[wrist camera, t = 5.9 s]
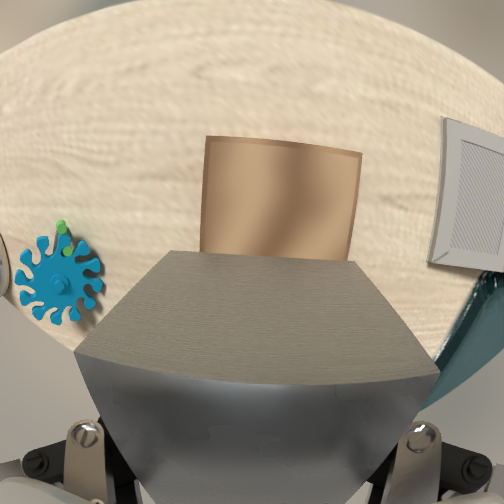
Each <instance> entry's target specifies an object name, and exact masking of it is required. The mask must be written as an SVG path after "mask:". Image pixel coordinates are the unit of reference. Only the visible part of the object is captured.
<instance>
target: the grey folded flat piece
mask: <svg viewBox="0 0 504 504" xmlns="http://www.w3.org/2000/svg"><path fill="white" fill-rule="evenodd" d="M426 262H431V263H436V264H444V265H452V266H459V267H467V268H475V269H482V270H489V271H497V272H504V138H502V137H500V136H497V135H495V134H492V133H490V132H487V131H485V130H482V129H479V128H477V127H474V126H471V125H468V124H465V123H462V122H459V121H456V120H453V119H450V118H446V117H442V116H441V155H440V172H439V184H438V194H437V202H436V210H435V217H434V223H433V230H432V235H431V241H430V246H429V251H428V256H427V260H426Z"/></svg>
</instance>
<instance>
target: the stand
mask: <svg viewBox="0 0 504 504" xmlns="http://www.w3.org/2000/svg"><path fill="white" fill-rule="evenodd" d="M361 163H362V153H359V152H354V151H349V150H343V149H338V148H332V147H325V146H319V145H312V144H305V143H297V142H288V141H279V140H269V139H258V138H245V137H228V136H206V144H205V156H204V170H203V186H202V204H201V225H200V252H205V253H221V254H237V255H253V256H270V257H286V258H303V259H320V260H337V261H347V258H348V253H349V248H350V242H351V236H352V230H353V224H354V218H355V211H356V204H357V197H358V189H359V181H360V172H361Z"/></svg>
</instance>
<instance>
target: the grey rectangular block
mask: <svg viewBox="0 0 504 504" xmlns="http://www.w3.org/2000/svg"><path fill="white" fill-rule="evenodd" d="M73 352H74V354H75V357H76V360H77V363H78V365H79V368H80V371H81V373H82V376H83V378H84V381H85V383H86V385H87V388H88V390H89V392H90V395H91V397H92V399H93V401H94V403H95V405H96V408H97V409H98V412H99V414H100V416H101V418H102V420H103V422H104V424H105V426H106V428H107V429H108V431H109V433H110V435H111V437H112V439H113V440H114V442H115V444H116V446H117V447H118V449H119V451H120V452H121V454H122V456H123V457H124V459H125V460H126V462H127V464H128V465H129V467H130V468H131V470H132V471H133V473H134V474H135V476H136V477H137V479H138V480H139V482H140V483H141V484H142V486H143V487H144V488H145V490H146V491H147V493H148V494H149V495H150V497H151V498H152V499H153V500H154V502H155V503H156V504H345V502H347V501H348V500H349V498H351V497H352V496H353V495H354V494H355V492H356V491H357V490H358V489H359V488H360V487H361V486H362V485H363V484H364V483H365V482H366V481H367V480H368V479H369V477H370V476H371V475H372V474H373V473H374V472H375V470H376V469H377V468H378V467H379V466H380V465H381V463H382V462H383V461H384V460H385V458H386V457H387V456H388V455H389V453H390V452H391V451H392V449H393V448H394V447H395V445H396V444H397V443H398V441H399V440H400V439H401V437H402V436H403V434H404V433H405V432H406V430H407V429H408V427H409V426H410V424H411V423H412V421H413V420H414V418H415V417H416V415H417V413H418V412H419V410H420V409H421V407H422V405H423V404H424V402H425V400H426V399H427V397H428V395H429V393H430V392H431V390H432V388H433V386H434V384H435V383H436V381H437V379H438V377H439V375H440V373H441V372H440V371H439V369H438V368H437V366H436V365H435V363H434V362H433V361H432V359H431V358H430V356H429V355H428V354H427V352H426V351H425V349H424V348H423V347H422V345H421V344H420V343H419V341H418V340H417V338H416V337H415V336H414V334H413V333H412V332H411V330H410V329H409V328H408V327H407V325H406V324H405V323H404V321H403V320H402V319H401V317H400V316H399V315H398V314H397V312H396V311H395V310H394V309H393V307H392V306H391V305H390V304H389V302H388V301H387V300H386V299H385V297H384V296H383V295H382V294H381V292H380V291H379V290H378V289H377V288H376V286H375V285H374V284H373V283H372V281H371V280H370V279H369V278H368V277H367V276H366V274H365V273H364V272H363V271H362V270H361V268H360V267H359V266H358V265H357V264H356V263H355V262H354V261H337V260H320V259H303V258H286V257H270V256H253V255H237V254H221V253H205V252H189V251H173V250H171V251H169V252H168V253H167V254H166V255H165V256H164V257H163V258H162V259H161V260H160V261H159V262H158V263H157V264H156V265H155V266H154V267H153V268H152V269H151V270H150V271H149V272H148V273H147V274H146V275H145V276H144V277H143V278H142V279H141V280H140V281H139V282H138V283H137V284H136V285H135V286H134V287H133V288H132V289H131V290H130V291H129V292H128V293H127V294H126V295H125V296H124V297H123V298H122V299H121V300H120V301H119V302H118V303H117V304H116V306H115V307H114V308H113V309H112V310H111V311H110V312H109V313H108V314H107V315H106V316H105V317H104V318H103V319H102V320H101V321H100V323H99V324H98V325H97V326H96V327H95V328H94V329H93V330H92V331H91V332H90V333H89V335H88V336H87V337H86V338H85V339H84V340H83V341H82V342H81V343H80V345H79V346H78V347H77V348H76V349H75V350H74V351H73Z"/></svg>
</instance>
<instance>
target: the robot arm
mask: <svg viewBox="0 0 504 504" xmlns="http://www.w3.org/2000/svg"><path fill="white" fill-rule="evenodd" d="M8 285H9V265H8V259H7V255H6V250H5V247H4V244H3V241H2V239H1V236H0V296H2V295H4V294H5V293H6V291H7V289H8ZM367 481H368V482H370V483H371V484H370V488H369V491H368V495H367V498H366V501H365V504H504V465H500V464H496V465H495V466H492V464H491V462H490V460H489V459H488V458H487V457H486V456H485V455H482V454H480V453H476V452H473V451H469V450H466V449H463V448H459V447H457V446H454V445H450V444H447V443H445V442H442V439H441V433H440V432H439V430H438V428H437V427H435V426H434V425H433V424H431V423H428V422H424V421H417V422H413V423H411V424H410V426H409V427H408V429H407V430H406V432H405V433H404V434H403V436H402V437H401V439H400V440H399V441H398V443H397V444H396V445H395V447H394V448H393V449H392V451H391V452H390V453H389V455H388V456H387V457H386V458H385V460H384V461H383V462H382V463H381V465H380V466H379V467H378V468H377V469H376V470H375V472H374V473H373V474H372V475H371V476H370V477H369V479H368V480H367ZM0 504H143V502H142V497H141V492H140V487H139V481H138V479H137V477H136V476H135V474H134V473H133V471H132V470H131V468H130V467H129V465H128V464H127V462H126V460H125V459H124V457H123V456H122V454H121V452H120V451H119V449H118V447H117V446H116V444H115V442H114V440H113V439H112V437H111V435H110V433H109V431H108V429H107V428H106V426H105V424H104V422H103V420H102V418H101V416H100V418H99V419H98V421H97V422H96V421H93V420H81V421H78V422H76V423H74V424H73V425H72V426H71V427H70V429H69V430H68V433H67V438H66V440H64V441H61V442H58V443H55V444H51V445H48V446H45V447H41V448H38V449H35V450H32V451H30V452H28V453H27V454H26V455H25V456H24V458H23V461H21V460H20V459H17V460H13V461H9V462H5V463H1V464H0Z"/></svg>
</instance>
